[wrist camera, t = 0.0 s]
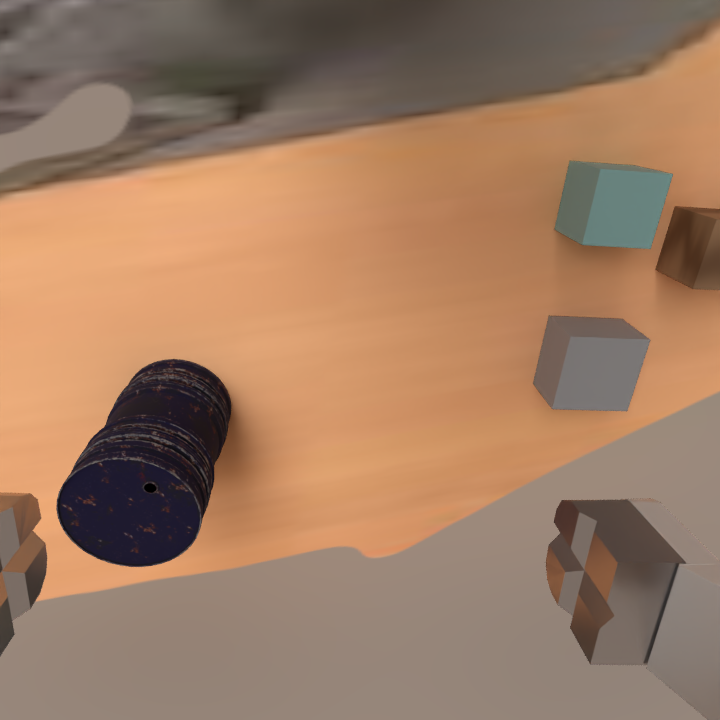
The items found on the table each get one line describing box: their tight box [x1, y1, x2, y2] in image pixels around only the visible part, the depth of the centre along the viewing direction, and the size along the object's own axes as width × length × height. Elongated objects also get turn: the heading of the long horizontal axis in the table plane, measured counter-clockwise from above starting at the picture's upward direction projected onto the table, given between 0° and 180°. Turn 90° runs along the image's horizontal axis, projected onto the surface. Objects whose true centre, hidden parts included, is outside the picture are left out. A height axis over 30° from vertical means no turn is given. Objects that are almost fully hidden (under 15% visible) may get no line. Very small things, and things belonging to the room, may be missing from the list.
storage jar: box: [57, 359, 231, 567], centre depth 45 cm, size 10×10×15 cm
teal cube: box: [555, 161, 673, 249], centre depth 43 cm, size 6×6×6 cm
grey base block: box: [533, 316, 650, 411], centre depth 50 cm, size 7×7×5 cm
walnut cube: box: [655, 206, 720, 290], centre depth 46 cm, size 6×6×6 cm
